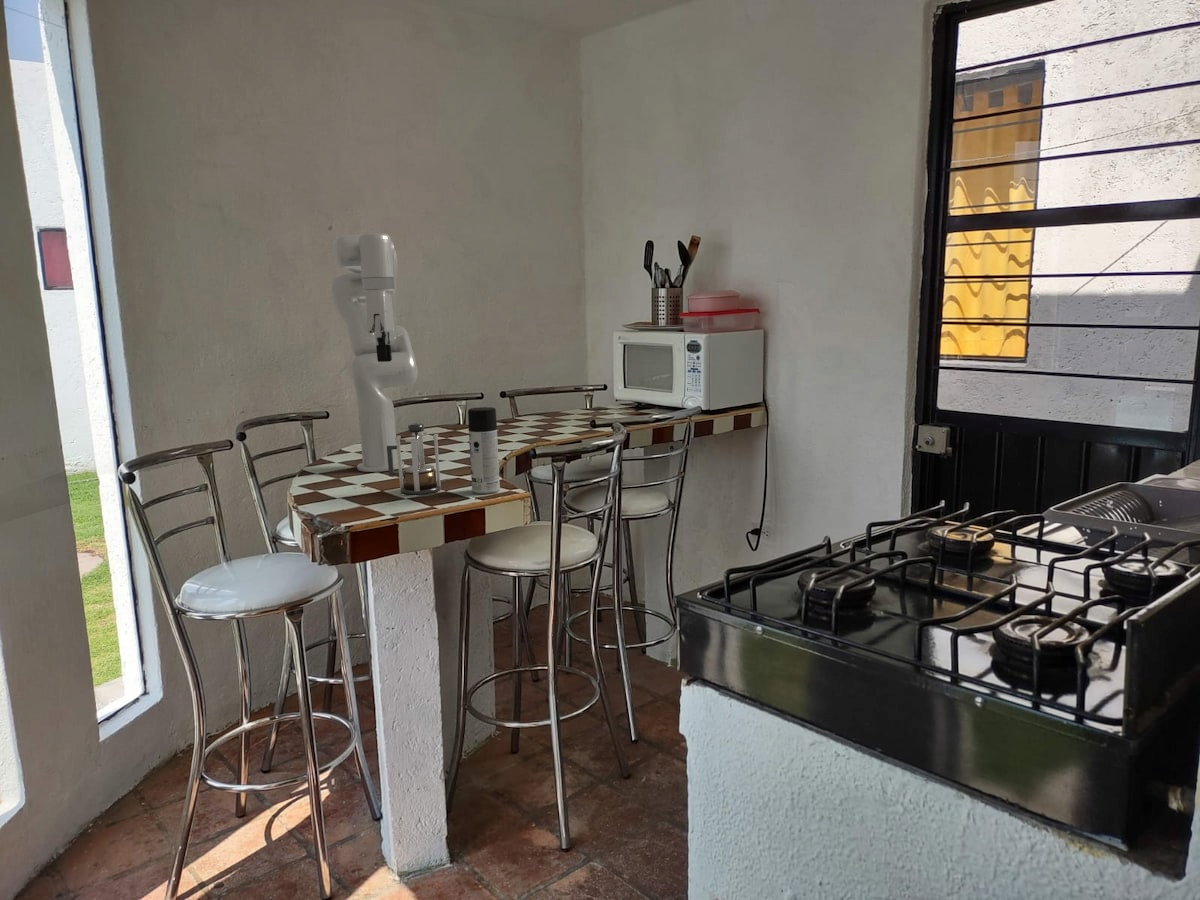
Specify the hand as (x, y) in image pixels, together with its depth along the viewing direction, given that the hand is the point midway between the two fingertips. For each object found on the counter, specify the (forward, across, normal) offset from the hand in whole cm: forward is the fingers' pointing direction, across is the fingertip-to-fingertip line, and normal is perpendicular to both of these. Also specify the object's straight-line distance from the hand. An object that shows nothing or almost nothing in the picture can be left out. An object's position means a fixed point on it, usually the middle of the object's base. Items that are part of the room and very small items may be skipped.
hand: (384, 361), depth 214 cm
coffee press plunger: (+26, +9, +8) cm, 29 cm away
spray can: (+31, +12, +24) cm, 41 cm away
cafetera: (+31, +9, +7) cm, 33 cm away
